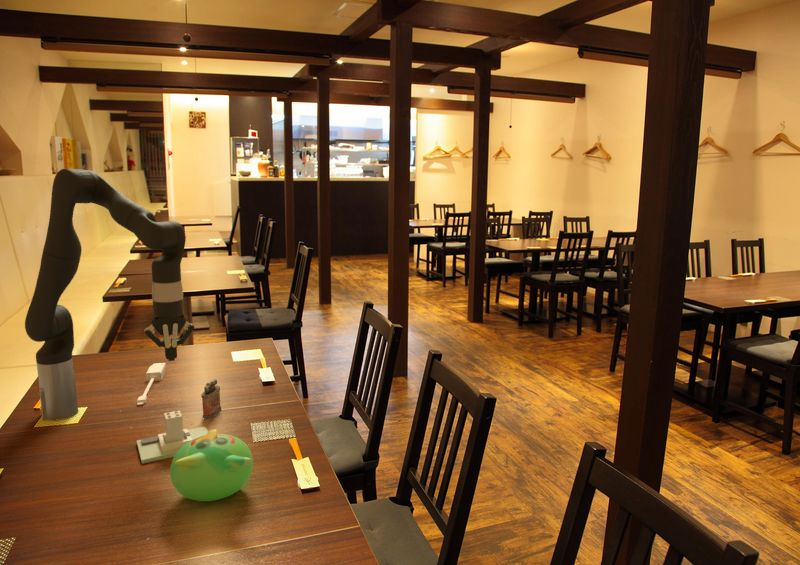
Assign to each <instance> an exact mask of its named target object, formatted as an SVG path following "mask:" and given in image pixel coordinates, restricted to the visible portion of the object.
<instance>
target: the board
mask: <svg viewBox="0 0 800 565" xmlns="http://www.w3.org/2000/svg"><path fill="white" fill-rule="evenodd" d="M206 427H207V426H201V427H195V428H192V429H191V428H190V429H188V428H183V436H184V440H181V441H177V442H172V443H167V442H166V433H165V432H163V433H158V434H157V436H151V437H147V438H142V439H138V440H136V446H137V449H138V454H139V458H140V462H141V464H142V465H143V464H148V463H152V462H156V461H160V460H166V459H169V458H174V456H175V455H176V453H177V452H178V450H179V449H180V448H181V447H182V446H184V445H185V444H186V443H188V442H189V441H191V440H193V439H195V438H198V437H201V436H204V435H206V434H207V433H208V432H209V430H208V429H207V428H206Z"/></svg>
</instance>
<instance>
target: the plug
mask: <svg viewBox="0 0 800 565" xmlns="http://www.w3.org/2000/svg"><path fill="white" fill-rule="evenodd" d="M163 415H164V416H163V418H164V419H163V420H164V430H165V431H164V433H166V442H167V443H172V442H177V441H181V440H184V436H183V429H184V426H183V415H182V412H181V410H174V411H170V412H164V413H163Z"/></svg>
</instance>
